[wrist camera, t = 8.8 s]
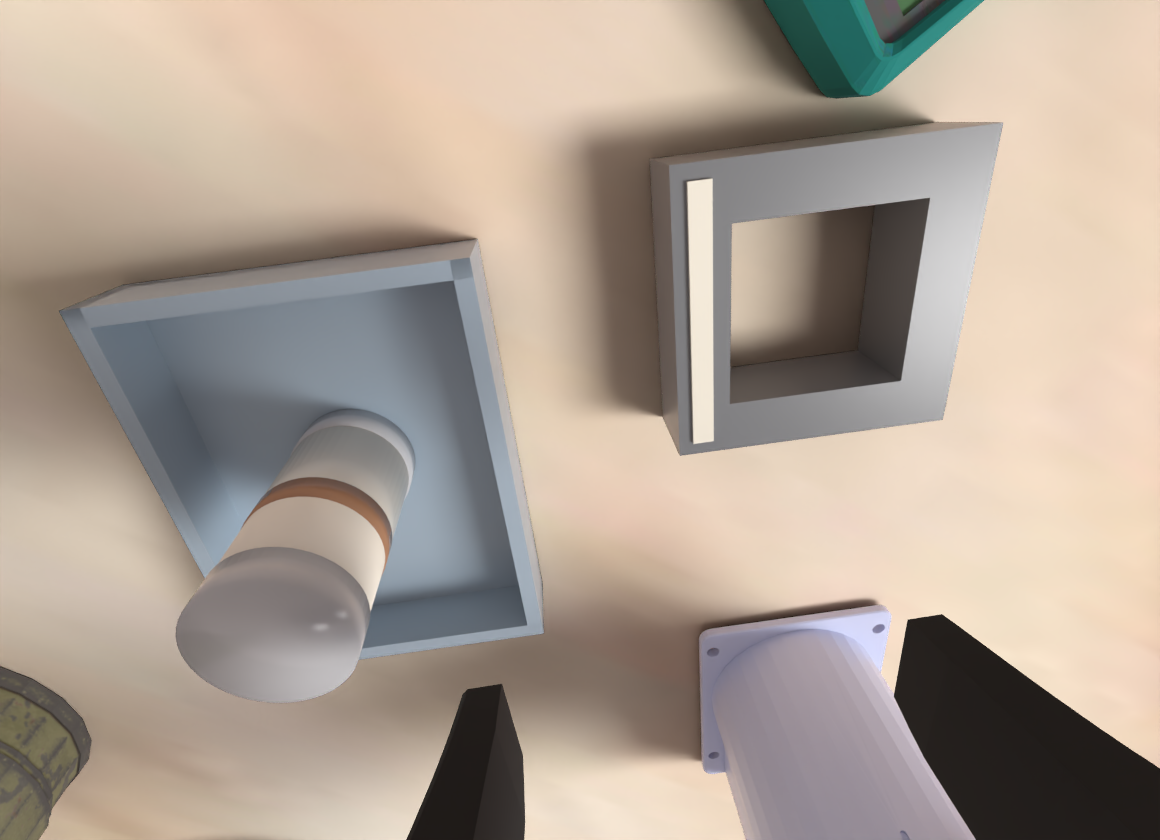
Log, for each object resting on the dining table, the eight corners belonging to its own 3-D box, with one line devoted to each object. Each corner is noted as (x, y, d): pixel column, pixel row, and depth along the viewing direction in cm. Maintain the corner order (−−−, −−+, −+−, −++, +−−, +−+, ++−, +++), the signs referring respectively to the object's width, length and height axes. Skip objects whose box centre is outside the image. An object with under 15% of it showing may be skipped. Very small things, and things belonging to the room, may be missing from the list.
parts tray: (542, 582, 22) (543, 633, 20) (283, 619, 22) (256, 674, 20) (477, 239, 16) (469, 257, 14) (122, 284, 16) (58, 310, 14)
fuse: (422, 501, 20) (373, 695, 13) (313, 507, 19) (207, 709, 13) (406, 406, 18) (341, 574, 11) (287, 412, 18) (148, 587, 11)
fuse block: (896, 386, 20) (944, 421, 17) (662, 417, 20) (680, 457, 17) (937, 122, 16) (1006, 122, 14) (649, 158, 16) (669, 165, 14)
